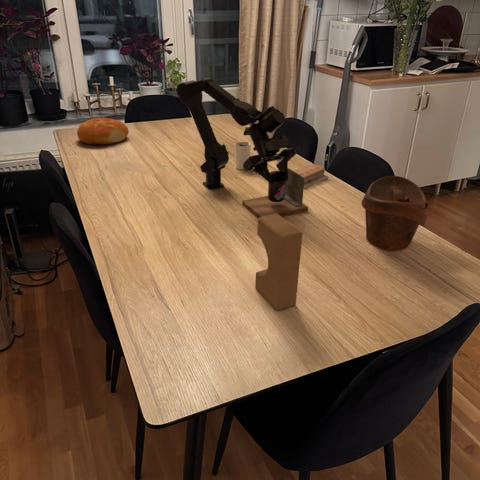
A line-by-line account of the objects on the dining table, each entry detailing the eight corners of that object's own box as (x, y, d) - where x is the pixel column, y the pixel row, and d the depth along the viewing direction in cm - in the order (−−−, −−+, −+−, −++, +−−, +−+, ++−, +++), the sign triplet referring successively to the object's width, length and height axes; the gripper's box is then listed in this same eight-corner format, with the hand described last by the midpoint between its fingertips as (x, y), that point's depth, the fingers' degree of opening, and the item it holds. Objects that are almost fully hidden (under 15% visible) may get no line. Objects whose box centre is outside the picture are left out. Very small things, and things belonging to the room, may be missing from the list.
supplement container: (270, 203, 152) (272, 178, 147) (265, 196, 156) (266, 171, 152) (287, 202, 153) (289, 176, 148) (281, 195, 158) (283, 170, 153)
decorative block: (254, 287, 116) (257, 216, 106) (273, 282, 118) (278, 212, 108) (276, 312, 107) (281, 237, 97) (296, 306, 109) (303, 232, 100)
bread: (122, 148, 211) (120, 126, 206) (72, 147, 211) (68, 125, 206) (133, 133, 231) (131, 114, 226) (87, 133, 231) (84, 113, 226)
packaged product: (309, 161, 186) (329, 167, 180) (308, 172, 189) (328, 179, 182) (280, 171, 175) (301, 179, 169) (279, 183, 177) (299, 191, 171)
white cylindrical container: (231, 168, 190) (232, 145, 185) (237, 163, 195) (238, 140, 190) (246, 170, 188) (247, 147, 183) (252, 165, 193) (253, 142, 188)
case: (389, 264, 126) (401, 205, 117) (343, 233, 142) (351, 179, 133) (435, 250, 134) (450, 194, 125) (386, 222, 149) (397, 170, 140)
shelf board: (242, 204, 159) (242, 173, 153) (286, 195, 166) (288, 165, 160) (261, 221, 148) (263, 188, 142) (307, 211, 155) (311, 179, 150)
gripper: (249, 132, 141) (269, 177, 139) (295, 123, 151) (314, 165, 148) (234, 149, 151) (253, 191, 148) (278, 140, 160) (296, 180, 158)
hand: (280, 182), depth 150 cm, fingers closed on supplement container, 6 cm apart
